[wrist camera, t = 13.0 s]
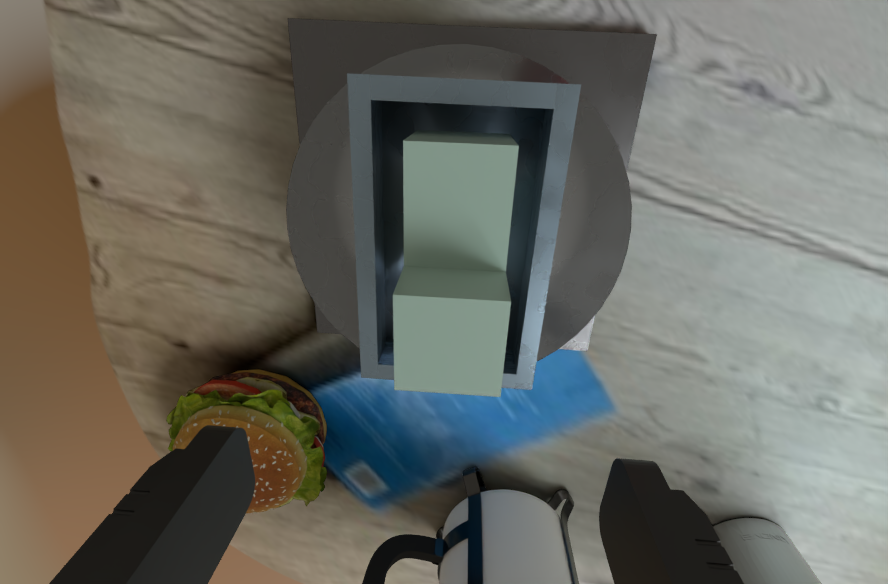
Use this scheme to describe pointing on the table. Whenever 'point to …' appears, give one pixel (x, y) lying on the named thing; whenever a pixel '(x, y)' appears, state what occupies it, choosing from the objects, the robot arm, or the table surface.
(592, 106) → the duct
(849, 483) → the table surface
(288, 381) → the food
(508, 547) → the coffee press
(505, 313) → the sage green stepped block
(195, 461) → the robot arm
